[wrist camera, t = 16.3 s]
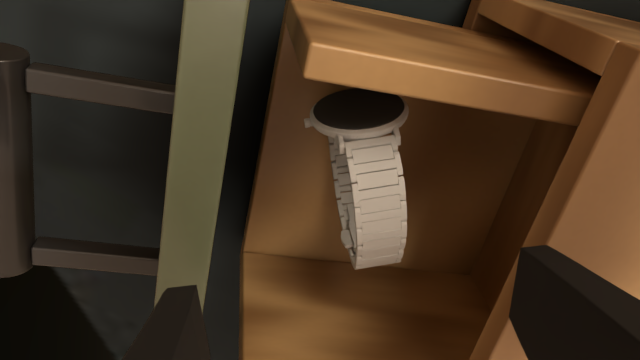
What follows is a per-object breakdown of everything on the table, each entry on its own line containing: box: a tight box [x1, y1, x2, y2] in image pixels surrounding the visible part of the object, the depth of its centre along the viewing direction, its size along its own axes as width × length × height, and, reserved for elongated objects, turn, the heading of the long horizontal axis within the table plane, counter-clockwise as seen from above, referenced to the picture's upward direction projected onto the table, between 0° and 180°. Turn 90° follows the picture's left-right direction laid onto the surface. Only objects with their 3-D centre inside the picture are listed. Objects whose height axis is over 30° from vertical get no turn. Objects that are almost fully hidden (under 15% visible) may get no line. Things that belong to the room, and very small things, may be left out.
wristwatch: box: [304, 88, 409, 270], centre depth 16 cm, size 3×5×5 cm, turn 6°
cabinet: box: [462, 0, 640, 360], centre depth 18 cm, size 14×13×9 cm
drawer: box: [0, 0, 602, 360], centre depth 16 cm, size 17×11×7 cm, turn 78°
